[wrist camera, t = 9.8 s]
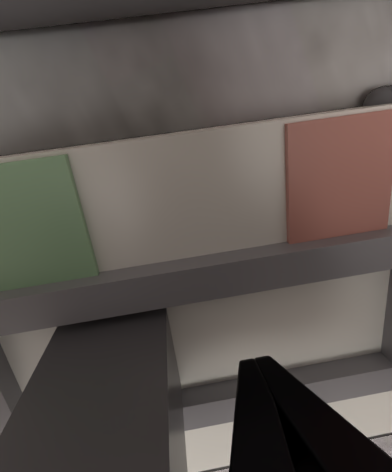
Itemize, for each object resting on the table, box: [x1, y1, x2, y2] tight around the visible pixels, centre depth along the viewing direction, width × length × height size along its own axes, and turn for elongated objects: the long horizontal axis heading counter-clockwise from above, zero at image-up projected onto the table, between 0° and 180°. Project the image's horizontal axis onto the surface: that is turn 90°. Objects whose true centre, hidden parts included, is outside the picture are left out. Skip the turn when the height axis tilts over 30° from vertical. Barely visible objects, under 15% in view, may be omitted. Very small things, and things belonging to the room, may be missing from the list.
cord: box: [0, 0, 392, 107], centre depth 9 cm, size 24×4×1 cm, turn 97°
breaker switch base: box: [0, 103, 392, 472], centre depth 10 cm, size 19×12×3 cm, turn 97°
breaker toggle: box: [0, 308, 188, 472], centre depth 7 cm, size 3×3×5 cm
